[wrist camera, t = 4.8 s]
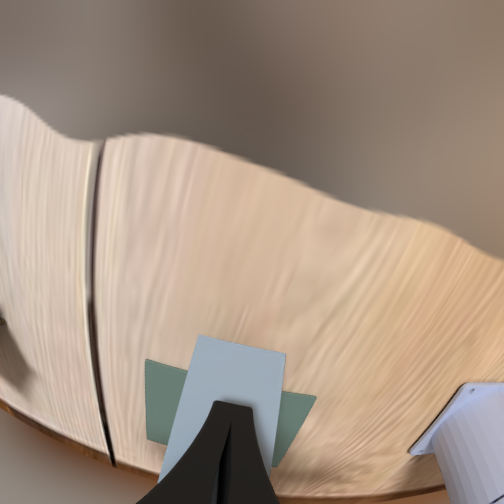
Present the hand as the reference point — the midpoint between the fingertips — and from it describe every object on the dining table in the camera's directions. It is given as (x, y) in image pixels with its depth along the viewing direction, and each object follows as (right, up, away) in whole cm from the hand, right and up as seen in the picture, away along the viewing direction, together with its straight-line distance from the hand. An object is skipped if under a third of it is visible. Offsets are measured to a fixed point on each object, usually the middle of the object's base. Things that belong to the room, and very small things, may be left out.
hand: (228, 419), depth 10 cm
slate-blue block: (0, +1, +5) cm, 5 cm away
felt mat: (-1, -5, +8) cm, 9 cm away
